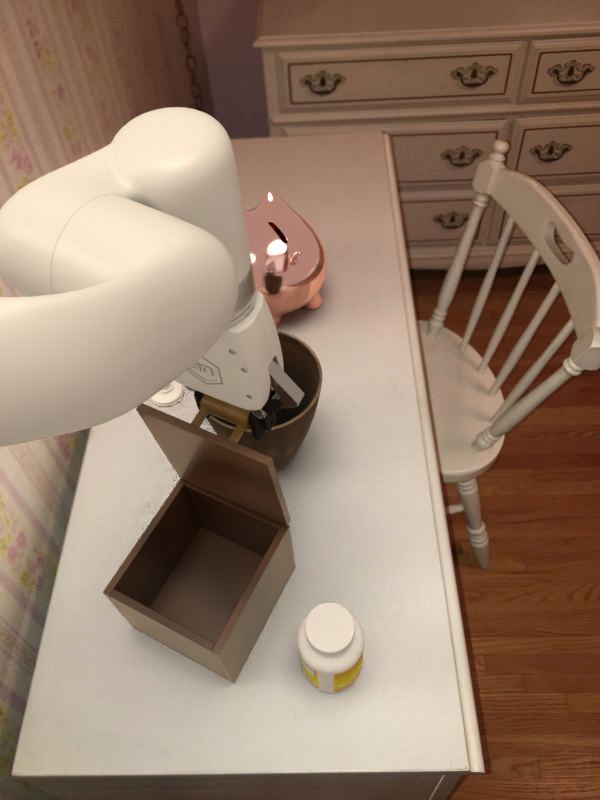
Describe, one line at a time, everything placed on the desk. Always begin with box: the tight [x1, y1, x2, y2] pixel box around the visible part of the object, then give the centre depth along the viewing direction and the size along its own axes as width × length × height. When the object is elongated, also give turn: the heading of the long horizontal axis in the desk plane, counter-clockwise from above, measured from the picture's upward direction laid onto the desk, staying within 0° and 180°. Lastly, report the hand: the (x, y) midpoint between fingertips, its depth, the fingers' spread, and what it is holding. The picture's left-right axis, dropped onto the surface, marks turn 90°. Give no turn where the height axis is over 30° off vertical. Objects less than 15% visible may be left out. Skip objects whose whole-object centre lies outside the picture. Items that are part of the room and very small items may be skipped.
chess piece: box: [150, 381, 185, 408], centre depth 89 cm, size 5×5×10 cm
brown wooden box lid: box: [135, 394, 292, 526], centre depth 64 cm, size 15×14×5 cm
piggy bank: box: [243, 189, 328, 330], centre depth 98 cm, size 15×18×16 cm
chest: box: [102, 478, 296, 684], centre depth 71 cm, size 15×14×12 cm
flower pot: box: [206, 329, 323, 471], centre depth 81 cm, size 15×15×16 cm
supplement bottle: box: [296, 601, 365, 694], centre depth 66 cm, size 7×7×13 cm
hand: (237, 415), depth 62 cm, fingers closed on brown wooden box lid, 5 cm apart
